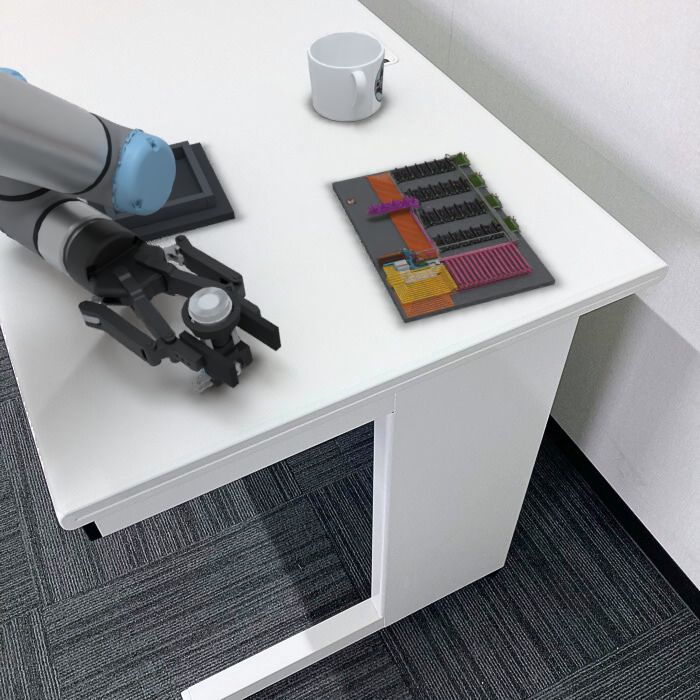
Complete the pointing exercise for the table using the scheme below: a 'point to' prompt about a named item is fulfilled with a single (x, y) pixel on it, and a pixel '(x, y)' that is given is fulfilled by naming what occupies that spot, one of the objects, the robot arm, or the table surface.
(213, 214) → the docking pad
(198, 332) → the push button
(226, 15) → the table surface
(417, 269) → the circuit board
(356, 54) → the mug
